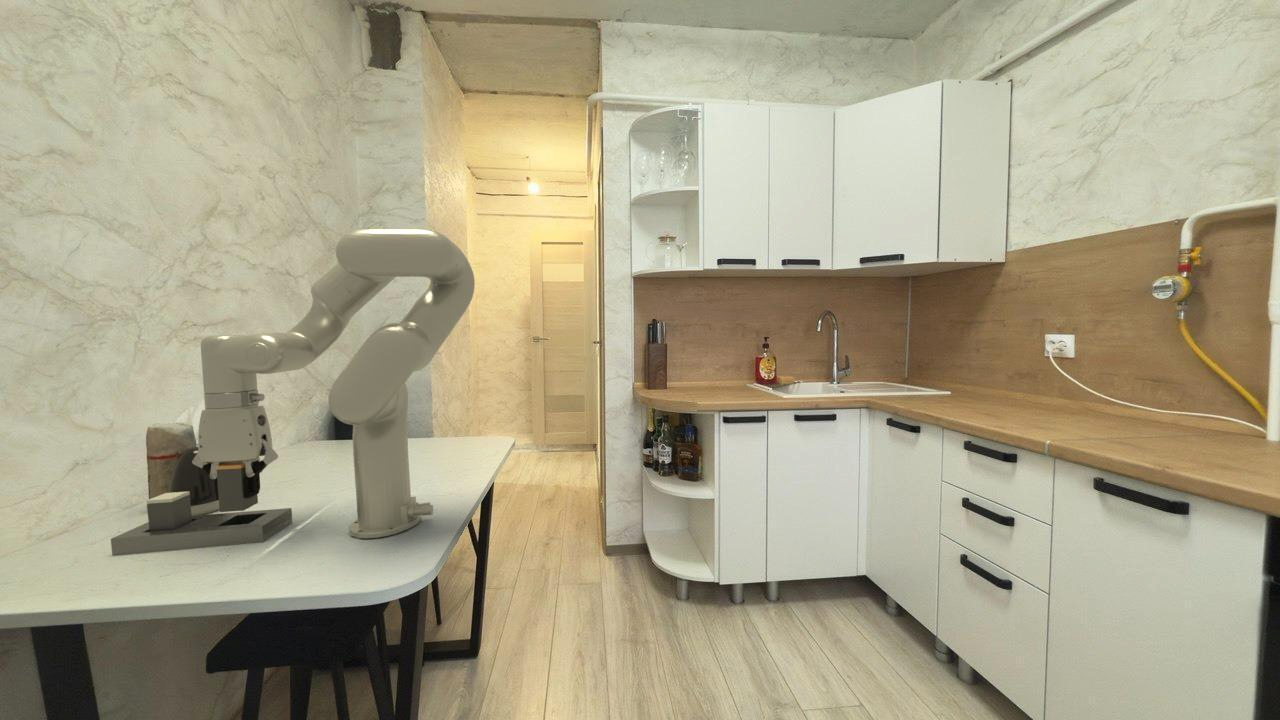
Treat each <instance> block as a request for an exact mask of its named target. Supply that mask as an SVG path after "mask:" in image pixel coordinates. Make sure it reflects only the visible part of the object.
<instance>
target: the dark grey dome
mask: <svg viewBox="0 0 1280 720" xmlns="http://www.w3.org/2000/svg"><path fill="white" fill-rule="evenodd" d="M198 451H199V450H198V446H196V447H193V448H190V449H188V450H186V451H185V452H183V453H182V454H181V456H180V457H179V459H178V460H177V462H176V464H175V467H174V469H173V472H172V476H171V479H170V483H169V489H168V493H174V492H188V491H189V493H190V503H191V514H192V516H196V515H208V514H212V513H214V512H216V511H219V500H217V499H216V493H215V483H214V479H211V478H210V474H208V473H207V472H206V471H204V470H203V468H200V467H198V466H196V465H194V464H193V463H192V461H193V459H194V458H195V456H196V454H197V453H198Z"/></svg>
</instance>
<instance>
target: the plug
mask: <svg viewBox="0 0 1280 720" xmlns="http://www.w3.org/2000/svg"><path fill="white" fill-rule="evenodd" d="M216 468H217V482H218V497H219V510H218V511H219V513H231V512H245V510H246V511H247V510H248V509H249V508H251V507H253V506H255V505H257V504H258V503H259V500H258V498H259V497H258V494H257V495H255V496H253V497H251V498H245V493H244V478H245V477H247V475H246V472H245V468H244V465H243V461H241V462H227V463H224V464H222V465H219V466H216Z"/></svg>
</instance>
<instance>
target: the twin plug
mask: <svg viewBox="0 0 1280 720" xmlns="http://www.w3.org/2000/svg"><path fill="white" fill-rule="evenodd" d="M146 510H147V519H148V521H147V522H149V531H150V532H156V531H168V530H176V529H178V528H180V527H182V526H184V525H186V524H188V523H190V522H192V514H191V503H190V493H189V491H188V492H174V493H165V494H162V495H159V496H157V497H154V498H152V499H149V498H148V499H147V500H146Z"/></svg>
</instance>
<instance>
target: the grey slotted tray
mask: <svg viewBox="0 0 1280 720" xmlns="http://www.w3.org/2000/svg"><path fill="white" fill-rule="evenodd" d="M292 511H293V510H292V507H287V508H286V507H285V508H273V509H260V510H259V509H258V510H246V511H233V512H220V513H207V514H203V515H196V516H192V522H190V523H188V524H186V525H184V526H182V527H180V528H178V529H176V530H168V531H156V532H150V531H149V521H147V522H145V523H144V524H141V525H138V526H136V527H133V528H131V529H130V530H127V531H125V532H123V533H120V534H119V535H116V536H113V537H112V538H110V545H111V555H112V556H124V555H125V556H126V555H134V554H137V555H138V554H147V553H158V552H159V553H161V552H167V551H168V552H170V551H171V552H172V551H181V550H192V549H206V548H215V547H216V548H217V547H225V546H236V545H250V544H260V543H264V542H265V543H266V541H268V540H269V539H271V538H272V537H274V536H276V535H277V534H279V533H280V532H281V531H282V530H284V529H286V528H287V527H288V526H290V525H292V524H293V513H292Z"/></svg>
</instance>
